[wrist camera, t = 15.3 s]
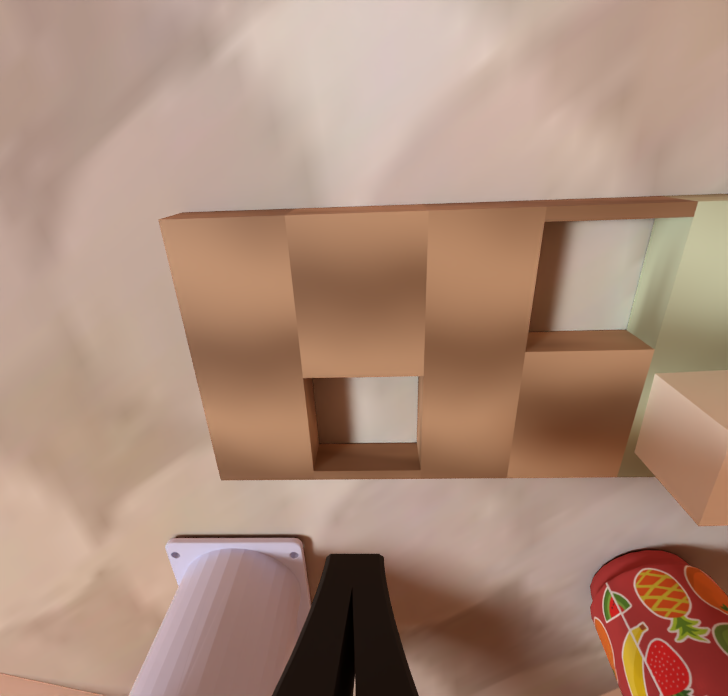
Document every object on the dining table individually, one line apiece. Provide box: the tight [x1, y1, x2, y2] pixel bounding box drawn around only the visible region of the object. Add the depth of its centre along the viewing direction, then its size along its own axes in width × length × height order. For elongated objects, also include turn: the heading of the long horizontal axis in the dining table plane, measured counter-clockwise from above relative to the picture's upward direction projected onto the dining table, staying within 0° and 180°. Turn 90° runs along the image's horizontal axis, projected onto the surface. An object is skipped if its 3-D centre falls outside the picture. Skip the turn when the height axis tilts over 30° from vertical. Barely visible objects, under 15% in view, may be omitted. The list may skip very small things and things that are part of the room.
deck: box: [159, 194, 728, 480], centre depth 16 cm, size 12×24×4 cm, turn 92°
